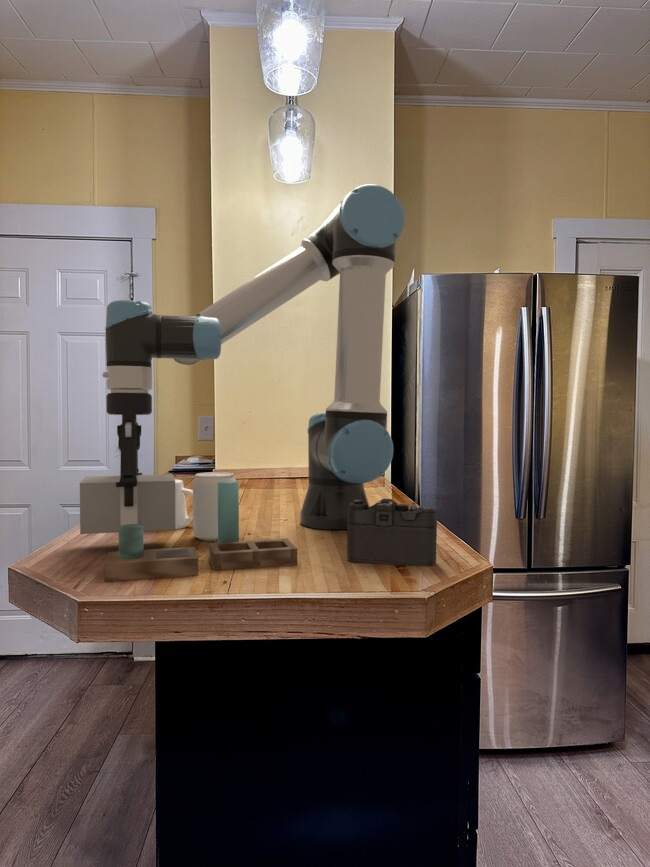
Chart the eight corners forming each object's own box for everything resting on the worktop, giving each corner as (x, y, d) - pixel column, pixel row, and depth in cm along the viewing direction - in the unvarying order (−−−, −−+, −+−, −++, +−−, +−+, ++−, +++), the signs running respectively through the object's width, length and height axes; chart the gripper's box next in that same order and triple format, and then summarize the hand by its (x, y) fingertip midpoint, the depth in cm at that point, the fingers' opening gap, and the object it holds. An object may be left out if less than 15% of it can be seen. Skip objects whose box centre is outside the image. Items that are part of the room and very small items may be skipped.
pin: (237, 549, 108) (237, 480, 108) (240, 554, 105) (239, 483, 104) (217, 550, 107) (216, 481, 107) (219, 555, 104) (218, 483, 103)
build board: (287, 553, 105) (287, 538, 105) (297, 564, 98) (297, 548, 98) (209, 558, 102) (209, 543, 102) (213, 570, 95) (213, 553, 95)
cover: (173, 519, 116) (173, 474, 116) (175, 529, 106) (175, 480, 106) (86, 523, 112) (85, 476, 111) (80, 534, 102) (79, 483, 102)
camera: (436, 552, 107) (437, 494, 107) (436, 568, 96) (437, 504, 96) (353, 548, 109) (354, 492, 109) (345, 564, 99) (345, 501, 98)
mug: (133, 483, 125) (146, 478, 132) (134, 530, 125) (147, 522, 133) (192, 484, 124) (202, 479, 132) (193, 530, 124) (203, 523, 132)
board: (194, 562, 99) (194, 518, 99) (198, 574, 92) (197, 527, 92) (108, 568, 96) (107, 522, 96) (105, 581, 89) (104, 532, 88)
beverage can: (227, 542, 113) (227, 477, 113) (186, 540, 115) (185, 476, 115) (242, 533, 121) (242, 472, 121) (203, 532, 123) (202, 471, 122)
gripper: (110, 392, 118) (111, 509, 119) (101, 390, 96) (102, 533, 97) (151, 393, 120) (152, 508, 121) (151, 391, 98) (152, 531, 99)
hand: (130, 519), depth 109 cm, fingers closed on cover, 10 cm apart
